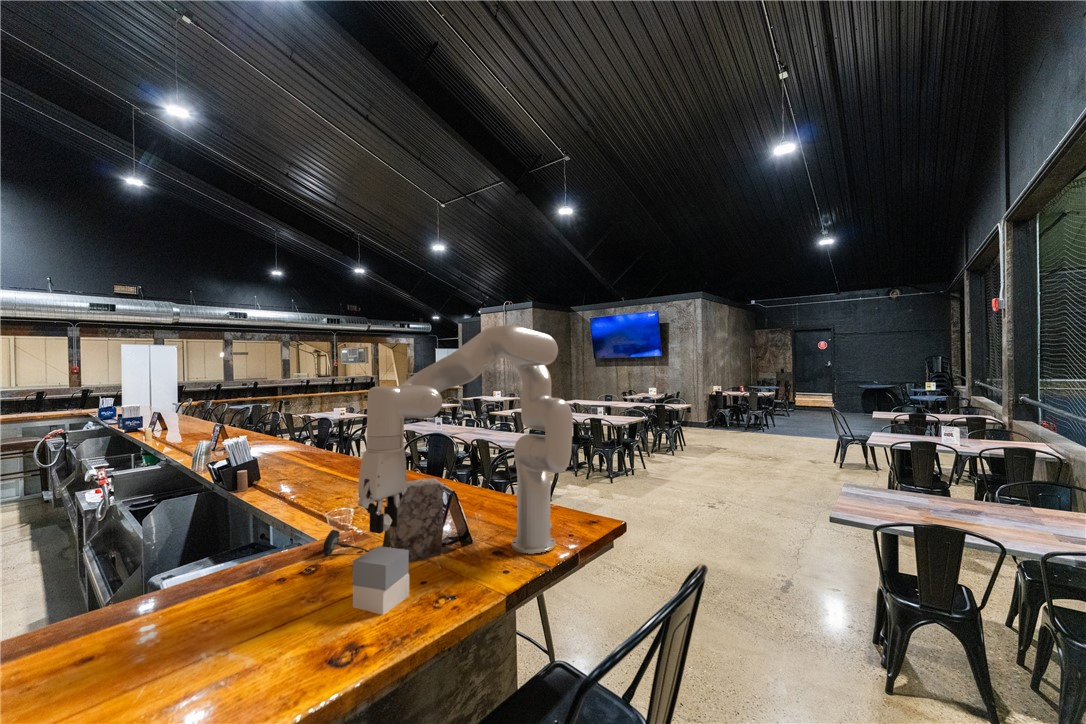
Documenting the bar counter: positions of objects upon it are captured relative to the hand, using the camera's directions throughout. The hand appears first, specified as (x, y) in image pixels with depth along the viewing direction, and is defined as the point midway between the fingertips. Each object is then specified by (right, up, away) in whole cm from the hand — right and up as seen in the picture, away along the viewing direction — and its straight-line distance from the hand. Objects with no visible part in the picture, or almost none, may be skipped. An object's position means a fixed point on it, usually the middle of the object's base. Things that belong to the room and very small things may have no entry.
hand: (383, 528), depth 91 cm
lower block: (0, -16, 0) cm, 16 cm away
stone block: (0, -17, +22) cm, 27 cm away
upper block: (0, -11, 0) cm, 11 cm away
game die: (0, 0, 0) cm, 0 cm away
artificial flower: (-13, -17, +26) cm, 34 cm away
